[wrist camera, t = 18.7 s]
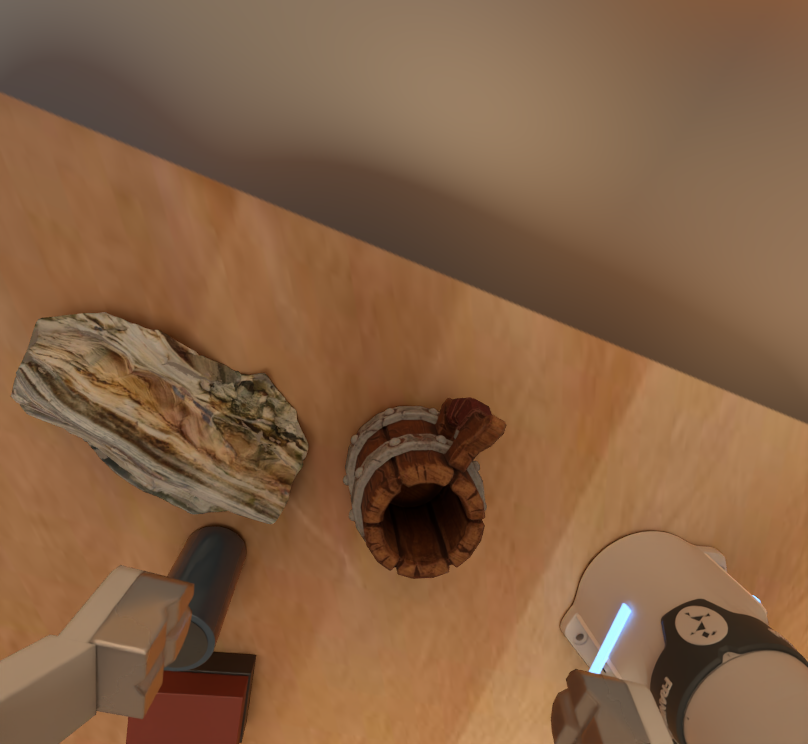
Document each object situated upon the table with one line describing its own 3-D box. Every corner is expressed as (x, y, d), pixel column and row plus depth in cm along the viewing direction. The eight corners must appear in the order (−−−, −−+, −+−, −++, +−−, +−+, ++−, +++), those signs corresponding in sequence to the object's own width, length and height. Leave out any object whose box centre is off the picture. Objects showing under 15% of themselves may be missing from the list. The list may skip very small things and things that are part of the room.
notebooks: (246, 721, 48) (235, 768, 43) (144, 716, 47) (121, 764, 42) (256, 654, 47) (245, 696, 42) (150, 647, 45) (128, 689, 41)
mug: (314, 492, 43) (316, 566, 29) (389, 359, 44) (429, 365, 29) (420, 545, 46) (471, 638, 31) (490, 417, 46) (573, 449, 32)
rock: (250, 517, 47) (335, 405, 44) (238, 571, 40) (338, 445, 37) (-1, 404, 39) (81, 256, 35) (-65, 449, 32) (29, 273, 29)
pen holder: (243, 579, 45) (211, 675, 35) (182, 573, 44) (132, 670, 34) (249, 529, 43) (217, 616, 34) (186, 522, 42) (135, 609, 33)
